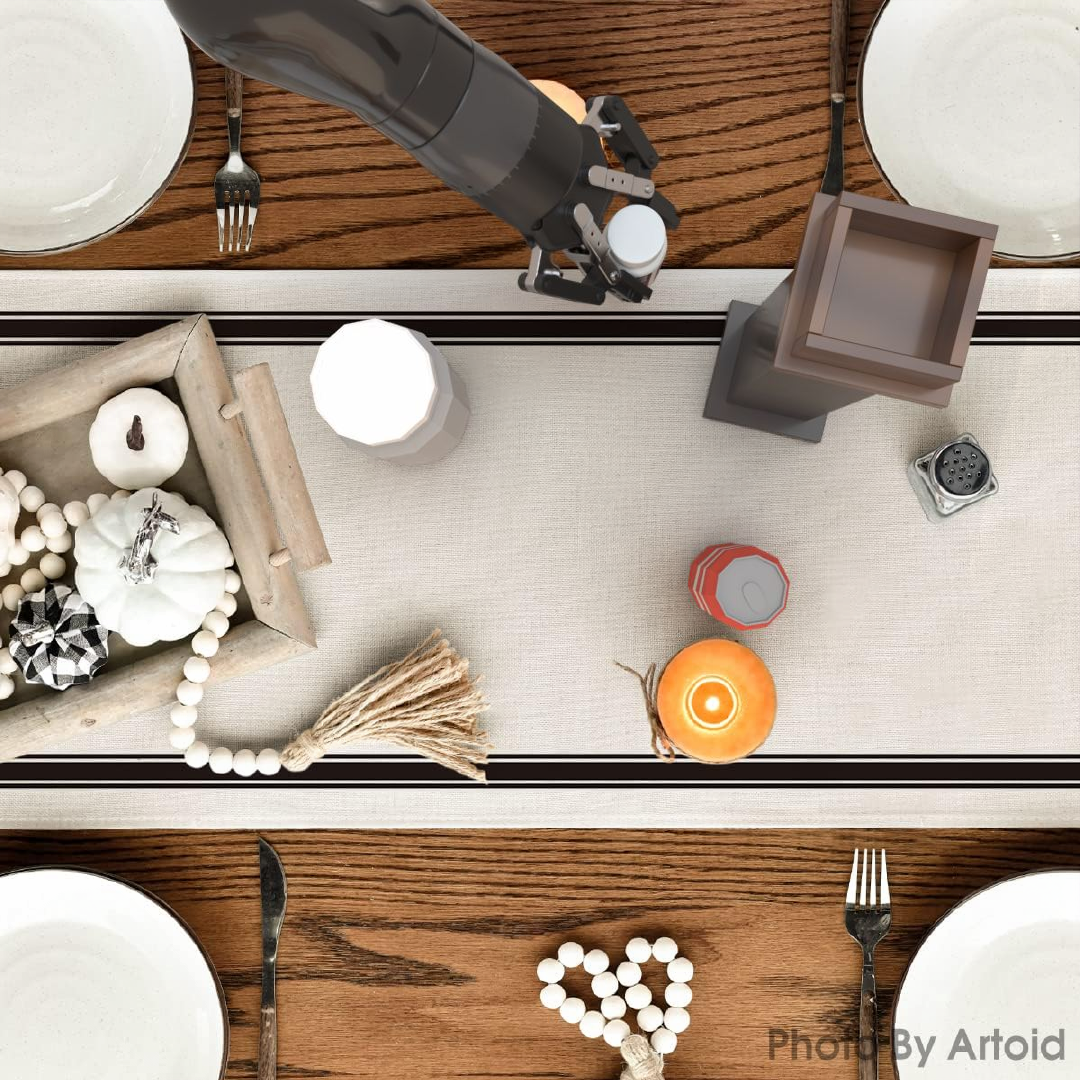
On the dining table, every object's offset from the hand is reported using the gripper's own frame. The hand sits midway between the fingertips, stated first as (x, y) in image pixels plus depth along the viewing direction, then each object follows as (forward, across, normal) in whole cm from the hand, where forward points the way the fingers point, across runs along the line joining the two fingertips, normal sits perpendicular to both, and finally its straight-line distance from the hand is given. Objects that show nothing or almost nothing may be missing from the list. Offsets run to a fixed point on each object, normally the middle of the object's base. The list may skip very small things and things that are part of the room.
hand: (656, 259), depth 68 cm
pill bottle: (+2, 0, +4) cm, 5 cm away
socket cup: (-1, -2, -19) cm, 20 cm away
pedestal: (+17, -2, -1) cm, 17 cm away
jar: (-2, -16, +18) cm, 25 cm away
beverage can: (+19, -20, -3) cm, 28 cm away
